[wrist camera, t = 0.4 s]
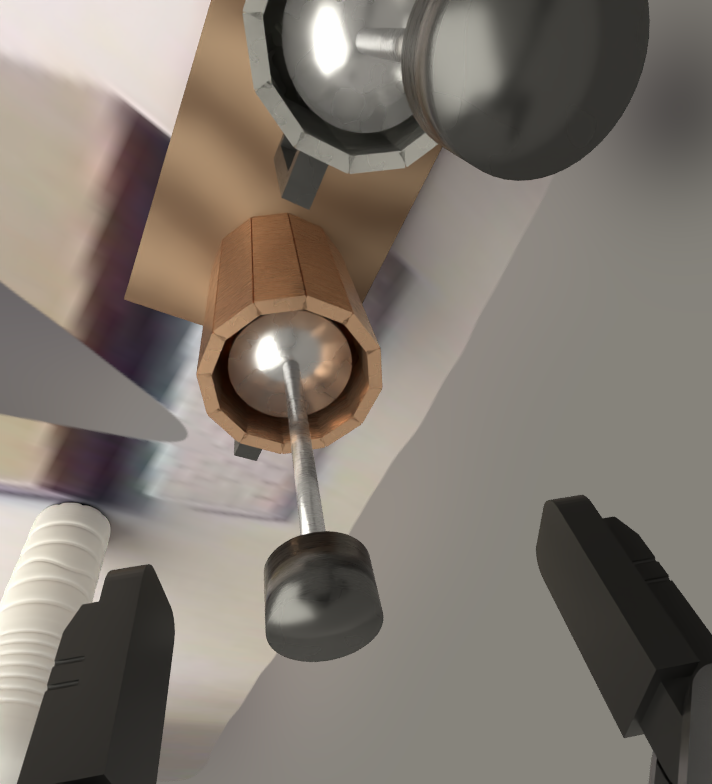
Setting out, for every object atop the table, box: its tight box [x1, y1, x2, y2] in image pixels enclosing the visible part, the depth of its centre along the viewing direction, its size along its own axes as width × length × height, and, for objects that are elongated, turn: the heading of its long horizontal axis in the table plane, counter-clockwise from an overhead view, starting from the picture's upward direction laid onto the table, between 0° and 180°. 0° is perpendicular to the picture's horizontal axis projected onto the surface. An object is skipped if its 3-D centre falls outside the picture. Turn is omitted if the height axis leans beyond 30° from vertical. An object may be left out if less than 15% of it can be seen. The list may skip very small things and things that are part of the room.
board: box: [124, 0, 442, 325], centre depth 37 cm, size 26×16×1 cm, turn 154°
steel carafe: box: [242, 0, 438, 210], centre depth 27 cm, size 12×9×14 cm
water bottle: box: [0, 503, 111, 784], centre depth 41 cm, size 9×6×25 cm
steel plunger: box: [282, 0, 649, 181], centre depth 16 cm, size 7×7×16 cm
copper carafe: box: [197, 213, 382, 461], centre depth 35 cm, size 12×9×14 cm
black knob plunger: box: [228, 309, 383, 662], centre depth 24 cm, size 7×7×16 cm
